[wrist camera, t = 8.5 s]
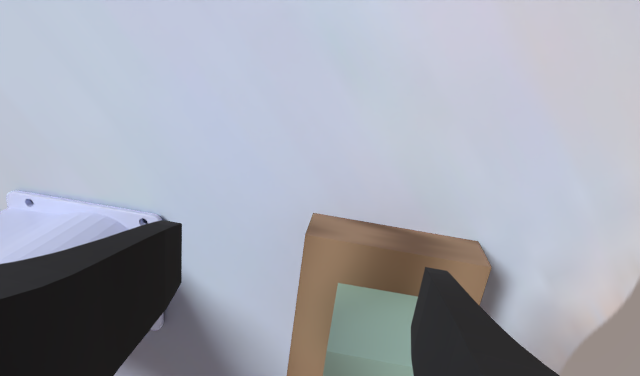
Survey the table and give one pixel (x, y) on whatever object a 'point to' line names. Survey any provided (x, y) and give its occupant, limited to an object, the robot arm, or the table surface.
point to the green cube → (370, 333)
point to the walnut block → (369, 274)
